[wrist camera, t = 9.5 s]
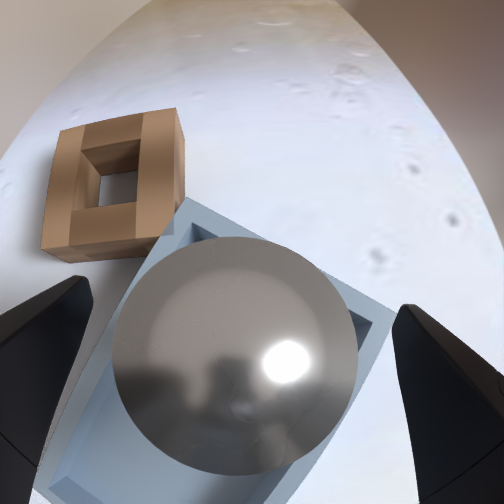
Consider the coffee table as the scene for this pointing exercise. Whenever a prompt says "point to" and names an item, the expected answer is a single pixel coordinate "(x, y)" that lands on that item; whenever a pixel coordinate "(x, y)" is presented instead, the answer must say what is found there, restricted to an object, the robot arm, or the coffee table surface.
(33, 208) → the coffee table surface
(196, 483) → the tray
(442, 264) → the coffee table surface
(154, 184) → the pin block
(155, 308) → the metal pin
